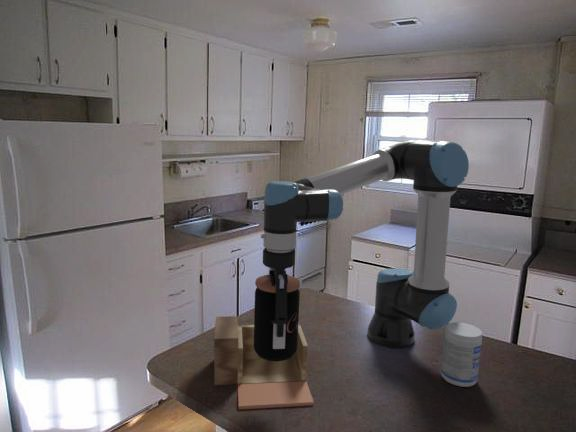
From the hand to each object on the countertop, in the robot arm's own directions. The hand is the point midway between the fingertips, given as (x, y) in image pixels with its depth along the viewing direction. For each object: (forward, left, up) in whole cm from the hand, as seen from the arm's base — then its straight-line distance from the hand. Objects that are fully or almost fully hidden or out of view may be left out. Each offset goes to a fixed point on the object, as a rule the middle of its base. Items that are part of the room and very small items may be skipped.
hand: (276, 336), depth 103 cm
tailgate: (0, -5, -16) cm, 17 cm away
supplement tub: (-52, -5, -17) cm, 55 cm away
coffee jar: (0, 0, -4) cm, 4 cm away
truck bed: (+3, -12, -17) cm, 21 cm away
